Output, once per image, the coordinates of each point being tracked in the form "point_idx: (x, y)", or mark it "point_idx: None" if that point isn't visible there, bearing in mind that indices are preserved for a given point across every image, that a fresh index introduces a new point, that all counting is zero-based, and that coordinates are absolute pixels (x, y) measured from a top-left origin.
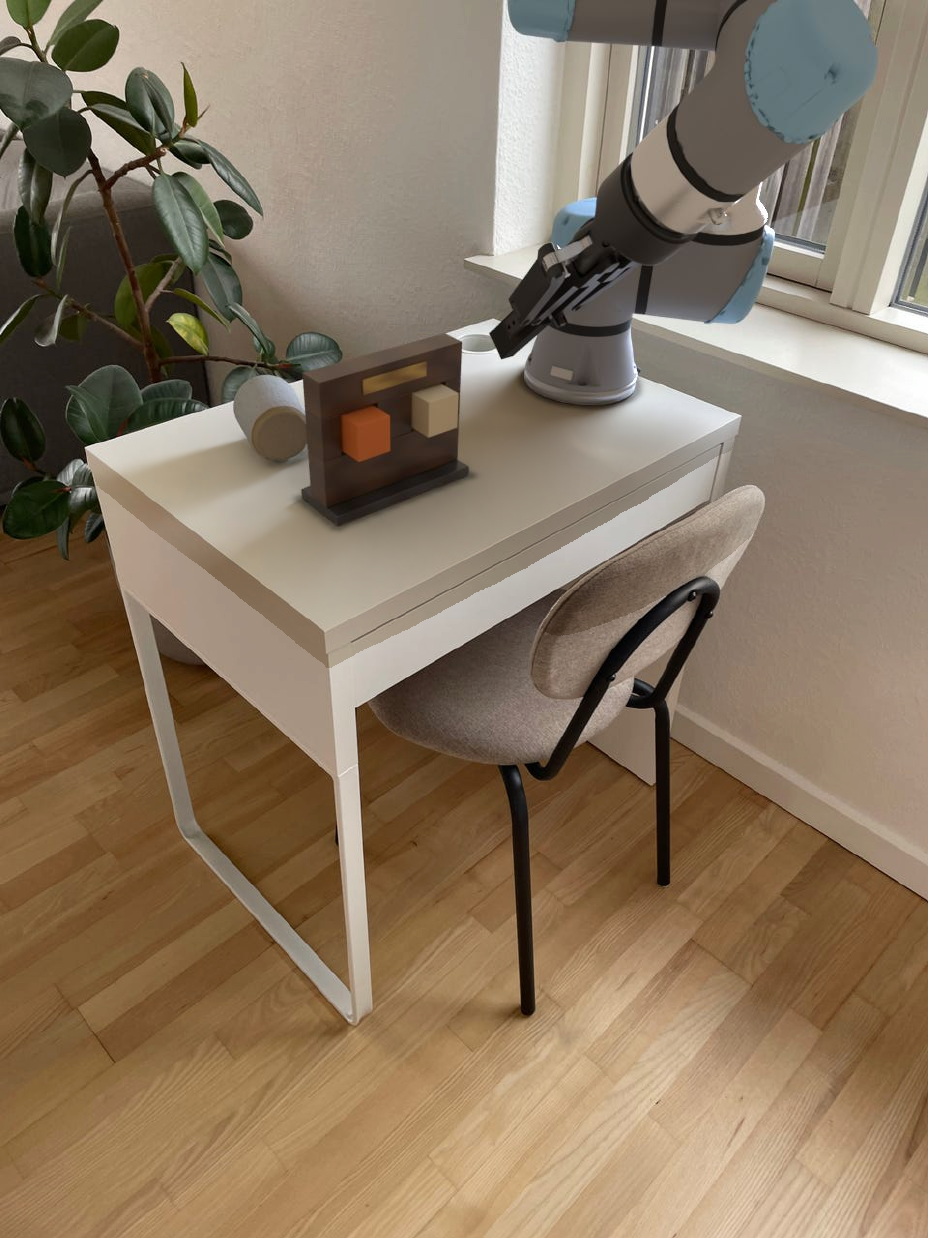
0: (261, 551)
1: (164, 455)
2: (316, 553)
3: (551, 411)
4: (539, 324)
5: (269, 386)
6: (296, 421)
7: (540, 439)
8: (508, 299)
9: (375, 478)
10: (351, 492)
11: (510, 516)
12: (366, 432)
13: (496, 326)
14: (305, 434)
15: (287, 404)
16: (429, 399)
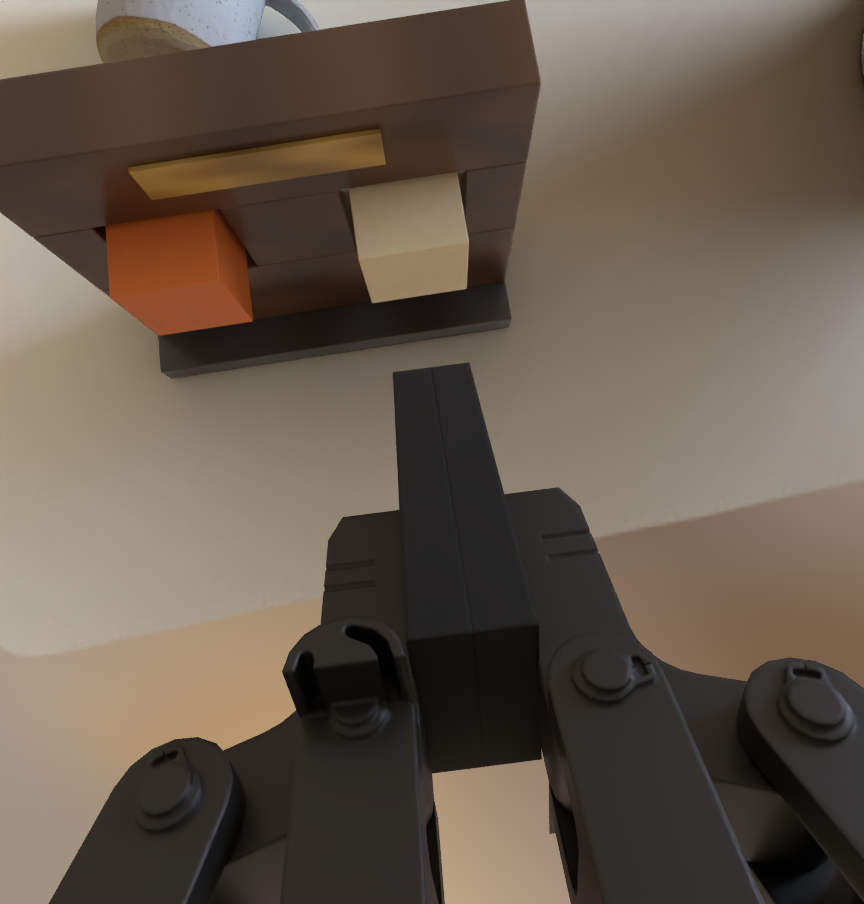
0: (8, 389)
1: (14, 3)
2: (90, 443)
3: (847, 163)
4: (437, 771)
5: None
6: None
7: (747, 263)
8: (126, 774)
9: (272, 305)
10: None
11: None
12: (150, 304)
13: (395, 408)
14: None
15: (162, 14)
16: (370, 242)
